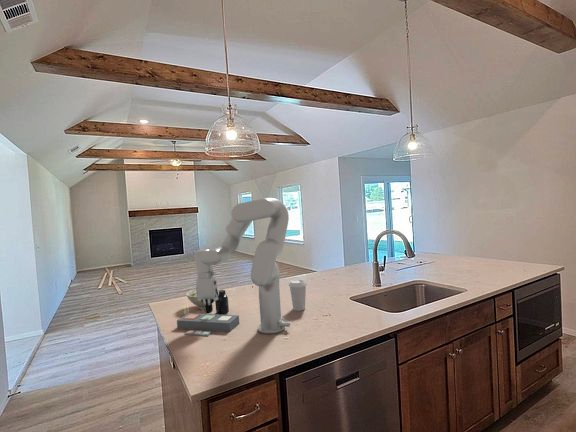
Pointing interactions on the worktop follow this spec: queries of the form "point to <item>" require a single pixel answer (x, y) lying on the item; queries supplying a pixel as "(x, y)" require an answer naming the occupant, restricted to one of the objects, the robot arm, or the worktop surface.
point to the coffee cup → (298, 294)
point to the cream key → (224, 318)
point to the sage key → (207, 317)
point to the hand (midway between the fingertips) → (209, 312)
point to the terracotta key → (191, 316)
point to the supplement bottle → (222, 303)
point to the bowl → (195, 299)
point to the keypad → (208, 323)
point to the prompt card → (198, 333)
